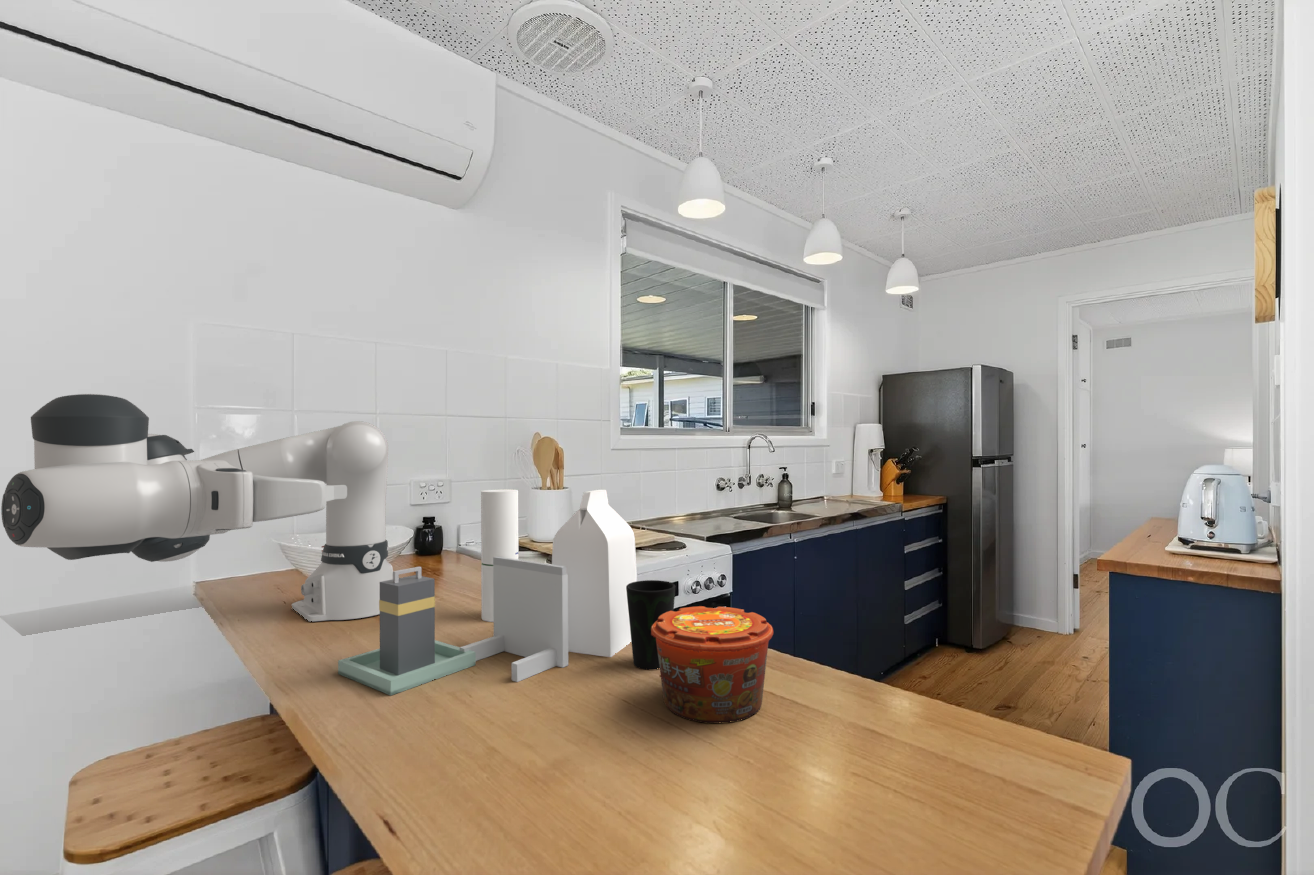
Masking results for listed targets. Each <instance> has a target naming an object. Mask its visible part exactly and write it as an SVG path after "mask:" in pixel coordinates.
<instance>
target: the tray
mask: <svg viewBox="0 0 1314 875" xmlns="http://www.w3.org/2000/svg"><path fill="white" fill-rule="evenodd" d="M460 647H461V646H460ZM460 647H459V646H456V645H452V644H450V643H446V642H443V641H440V640H437V639H435V663H434V664H431V665H428V666H425V667H422V668H419V669H416V670H413V671H410V672H407V673H404V674H401V675H395V674H392V673H390V672H387V671H384V670H382V669H380V648H376V649H373V650H369V651H366V652H363V653H359V654H356V655H352V656H349V657H346V658H341V659H338V660H337V672H338V673H337V674H338V675H339V676H342V677H345V678H347V679H350V680H352V681H354V682H357V683H359V684H361V685H363V686H366V687H368V688H371V689H374V690H376V691H379V692H380V693H384V694H386V695H389V696H394V695H397V694H399V693H402V692H404V691H408V690H410V689H413V688H417V687H418V686H421V684H422V685H424V684H427V683H430V682H432V680H433V681H435V680H434V679H436V680H438V679H441V678H443V677H446V675H447V676H449V675H452V674H454V673H457V672H460V671H463V670H465V669H468V668H471V667H474V666H476V662H477V661H476V652H474V651H470V650H469V651H466V652H462V651H460Z"/></svg>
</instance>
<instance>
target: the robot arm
mask: <svg viewBox="0 0 1314 875" xmlns="http://www.w3.org/2000/svg"><path fill="white" fill-rule="evenodd" d="M149 421H150V418H149V417H148V415H147V414H145V412H144V411H143V410H142V409H140V408H139V407H138V406H137V405H135V404H134V403H132V402H131V401H129V400H128V399H126V398H123V397H119V396H114V395H113V396H112V395H107V394H101V393H100V394H98V393H77V394H71V395H70V394H69V395H64V396H63V395H61V396H59V397H55V398H54V399H52V400H51V401H48V402H47V403H45V404H44V405H43V406H42V407H40V408H39V409H38V410H37V411H35V412H34V413H33V414H32V415H31V416H30V424H31V434H32V436H31V437H32V439H33V441H34V442H33V445H34V446H33V448H34V449H33V450H34V453H33V454H34V458H33V459H34V469H28V470H23V471H20V472H18V473H16V474H14V475H13V476H12V478H11V479H10V480H9V482H8V483H7V485H6V487H5V490H4V493H3V495H2V498H1V499H2V500H1V508H0V510H1V512H0V513H1V522H2V525H3V528H4V530H5V532H6V534H7V537H8V538H9V540H10V542H11V541H12V543H13V544H15V545H17V546H18V547H23V548H47V549H49V550H50V551H51V552H53V553H54V554H56V555H58V556H59V557H62V558H63V559H65V560H68V561H71V560H72V561H74V560H81V559H84V558H91V557H98V556H99V557H100V556H108V555H116V554H130V553H132V554H133V555H135V556H136V557H137V558H138V559H140V560H141V559H142V560H143V561H148V562H151V563H154V562H161V563H162V562H164V563H165V562H173V561H180V560H182V559H185V558H187V557H189V556H191V555H193V554H194V553H196V552H197V551H199V550H200V549H201V548H203V547H205V546H206V545H207V543H208V542H209V541H210V538H211V535H212V536H213V535H221V534H226V533H228V532H230V531H233V530H245V529H249V528H252V527H253V525H254V524H253V523H259V522H265V521H274V520H279V519H287V518H291V517H292V518H293V517H299V516H304V515H309V514H314V513H318V512H321V511H323V510H324V509H325V518H326V519H325V523H326V524H325V532H326V533H325V544H324V545H322V546H321V548H322V549H321V557H320V561H321V562H320V564H319V565H318V566H317V567H316V568H315V570H313V572H312V573H311V574H309V576H308V577H307V578H306V579H305V581H304V583H303V584H301V586H300V591H301V593H300V594H301V595H302V596H303V597H304V598H303V599H301V600H297V601H295V602H292V603H291V606H292V608H293V609H294V610H295V611H297V612H298V613H299V614H300V615H299V614H298V613H297V612H296V613H297V614H298V615H299V616H301V615H302V616H303V617H304V618H303V617H302V616H301V617H302V618H303V619H305V620H306V619H307V620H308V622H311V621H312V622H323V621H344V620H346V621H347V620H354V619H361V618H362V619H363V618H368V617H374V616H377V615H380V611H379V600H380V582H382V581H387V580H392V579H393V571H394V570H393V565H392V564H391V563H390V562H389V561H388V560H387V558H388V557H389V543H388V542H389V540H387V539H386V538H387V537H386V532H387V531H386V526H387V525H386V504H387V503H386V500H387V488H388V487H387V486H388V485H387V484H388V467H389V464H388V463H389V445H388V440H387V438H386V436H385V434H384V432H382V430H381V429H380V428H379V427H377V426H375V425H374V424H372V423H369V422H366V421H360V420H355V421H348V422H346V423H344V424H342V425H338V426H334V427H329V428H324V429H321V430H315V431H311V432H307V433H302V434H298V435H293V436H289V437H284V438H280V439H279V438H278V439H275V440H270V441H266V442H261V443H258V444H257V443H256V444H254V445H253V444H252V445H249V446H245V447H241V448H236V449H232V450H228V451H225V452H222V453H218V454H216V455H211V456H209V457H206V458H203V459H200V460H197V459H196V460H195V459H193V460H188V459H187V458H186V456H185V455H189V454H192V453H195V450H194V449H193V448H186V447H185V445H183V443H182V442H181V441H179V440H178V439H175V438H173V437H172V436H170V435H166V434H158V433H157V434H155V433H149ZM292 608H291V609H292ZM293 609H292V610H293ZM294 610H293V611H294ZM295 611H294V612H295ZM307 620H306V621H307Z"/></svg>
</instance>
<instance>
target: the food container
mask: <svg viewBox="0 0 1314 875" xmlns="http://www.w3.org/2000/svg"><path fill="white" fill-rule="evenodd" d="M651 635H652V636H653V637H656V643H657V651H658V658H659V666H660V669H659V671H660V672H659V673H660V681H661V687H662V688H661V690H662V698H663V703H664V705H665V706H666V708H667V709H668V710H669V711H670V712H672V713H673V714H675V715H676V716H679V717H681V718H683V717H684V718H683V719H686V720H688V719H690V720H689V721H693V722H697V721H699V722H698V723H704V722H707V724H708V723H709V724H723V723H722V722H728V723H731V722H730V721H736V722H738V721H737V720H740V721H742V720H741V719H743V720H745V719H744V718H746V719H747V717H748V718H750V717H752V716H754V715H755V714H756V712H757V713H758V712H759V711H760V710H761V708H762V705H763V697H764V686H765V677H766V668H767V667H766V666H767V658H768V652H769V651H768V649H769V642H770V640H771V639H772V638H773V635H774V627H773V625H772V624H770V623H769V622H767V619H766V618H765V617H764V616H762V615H760V614H758V613H756V612H753V611H751V612H745V609H741V608H736V607H727V606H717V607H714V608H713V607H706V606H702V605H699V606H689V607H680V608H679V609H678V610H677V611H669V612H666V613H664V614H662V615H660V616H659V618H658V620H657V621H656V622H655V623H654V624H653V625H652V627H651ZM758 710H759V711H758ZM753 714H754V715H753ZM751 715H752V716H751ZM719 722H721V723H719Z"/></svg>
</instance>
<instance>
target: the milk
mask: <svg viewBox="0 0 1314 875" xmlns="http://www.w3.org/2000/svg"><path fill="white" fill-rule="evenodd" d="M582 493H583V494H582V495H581V496H582V498H581V502H580V507H579V509H578V510H577V511H575V512H574V514H572V516H571V517H570V518H569V519H568V520H567V521H566V522H565V523H564V524H563V525H562V526H561V527H560V528H559V529H558V530H557V532H556V533H555V534H554V537H553V539H552V551H551V552H552V553H551V554H552V555H551V565H558V566H564V567H566V574H568V653H569V652H571V653H577V654H582V655H583V654H584V655H590V656H591V655H593V656H598V657H606V658H612V657H613V656H615V655H616V654H617V653H619V652H620V651H621V650H622V649H624V648H625V647H627V646H629V645H630V642H631V632H630V622H629V612H628V601H627V591H626V586H627V585H628V584H629V583H632V582H636V581H638V572H637V571H638V570H637V555H636V539H635V533H634V531H633V529H632V527H631V525H629V523H627V521H626V520H625V519H624V518H623V517H622V516H621V515H620V514H618V512H617V511H616V510H615V509H613V507H611V506H610V504H609V498H608V493H607V489H594V490H589V491H583V492H582ZM626 645H627V646H626ZM615 653H616V654H615Z"/></svg>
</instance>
